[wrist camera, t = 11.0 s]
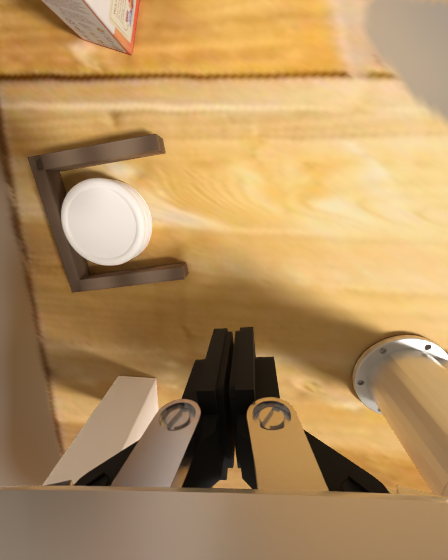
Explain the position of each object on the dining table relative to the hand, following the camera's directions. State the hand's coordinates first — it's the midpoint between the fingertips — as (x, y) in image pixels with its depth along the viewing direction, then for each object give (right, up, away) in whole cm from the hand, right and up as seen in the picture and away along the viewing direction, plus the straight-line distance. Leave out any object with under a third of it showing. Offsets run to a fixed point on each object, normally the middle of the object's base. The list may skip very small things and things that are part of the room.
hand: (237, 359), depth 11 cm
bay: (-14, +11, +22) cm, 28 cm away
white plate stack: (-14, +11, +22) cm, 29 cm away
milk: (-14, -14, +30) cm, 36 cm away
